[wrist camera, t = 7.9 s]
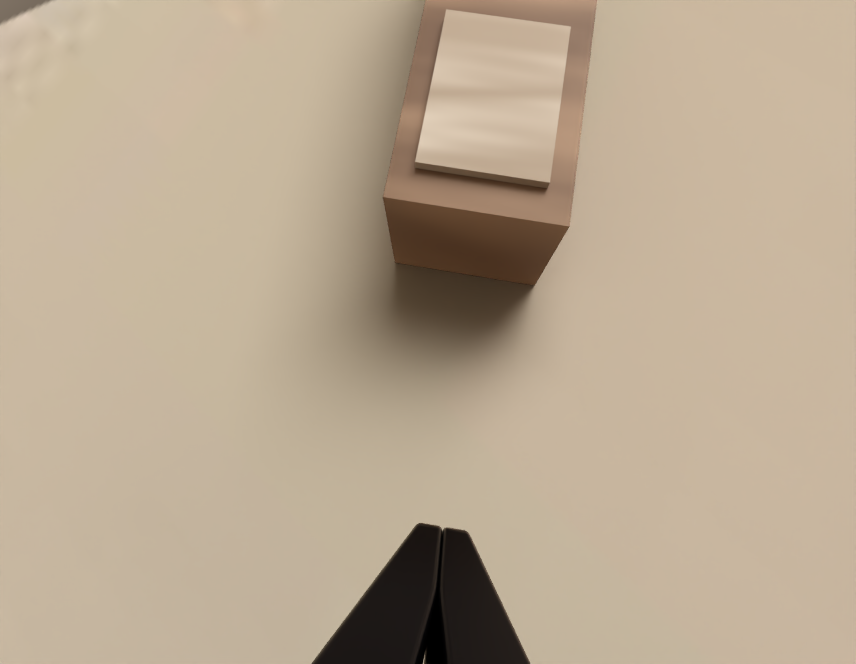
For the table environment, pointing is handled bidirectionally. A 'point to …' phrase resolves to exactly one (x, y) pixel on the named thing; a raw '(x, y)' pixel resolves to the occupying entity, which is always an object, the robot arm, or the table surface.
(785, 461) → the table surface
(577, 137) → the walnut block
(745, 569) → the table surface
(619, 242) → the table surface
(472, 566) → the robot arm
